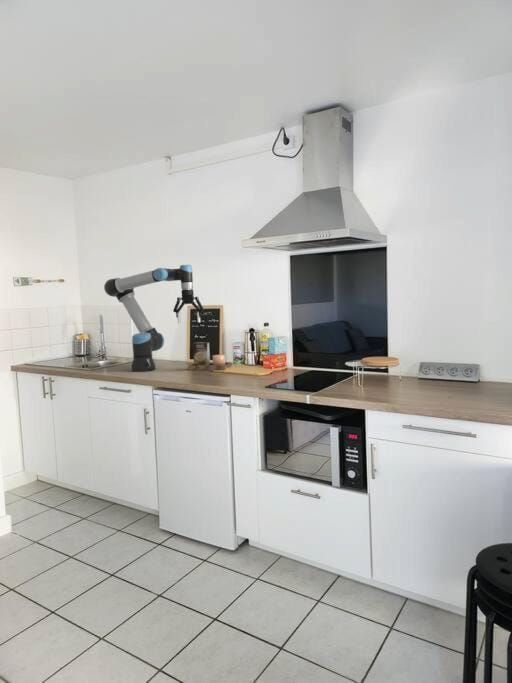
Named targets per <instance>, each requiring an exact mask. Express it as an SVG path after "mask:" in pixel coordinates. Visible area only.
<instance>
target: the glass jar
mask: <svg viewBox="0 0 512 683" xmlns="http://www.w3.org/2000/svg"><path fill="white" fill-rule="evenodd" d="M192 346H193V348H192V349H193V351H192V352H193V364H194V366H207V365H209V364H210V362H211V354H210V353H211V352H210V351H211V350H210V342H209V341H207V342H206V341H205V342H204V341H203V342H202V341H200V342H199V341H198V342H193V345H192Z"/></svg>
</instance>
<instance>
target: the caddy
mask: <svg viewBox="0 0 512 683" xmlns="http://www.w3.org/2000/svg"><path fill="white" fill-rule="evenodd" d="M231 366H232V367H233V362H232V361H231V362H230V361H229V362H227V361H225V365H223V366H213V361H212V362H211V361H210V364H209V365H207V366H194V363H192V364H190V365H188V368H187V369H188V371H226V369H227V368H229V367H231ZM232 367H231V368H232ZM229 369H230V368H229ZM227 370H228V369H227Z"/></svg>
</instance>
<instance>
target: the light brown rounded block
mask: <svg viewBox="0 0 512 683" xmlns="http://www.w3.org/2000/svg"><path fill="white" fill-rule="evenodd" d="M212 362H213V366H223V365H225V362H226V354H212Z"/></svg>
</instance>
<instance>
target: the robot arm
mask: <svg viewBox="0 0 512 683" xmlns="http://www.w3.org/2000/svg"><path fill="white" fill-rule="evenodd" d="M193 280H194V279H193V267H192V265H191V264H181V265H180V266H179V268H165V267H158V268H155V269H154V270H150V271H146V272H143V273H138V274H134V275H130V276H127V277H122V278H120V277H116V278H110V279H108V280H106V282H105V283H104V287H103V288H104V293H106V294H107V295H108V296H109V297H115V298H116V299H117V300H118V302H119V303H121V304H123V306H124V308H125V309H126V311H127V313H128V315H129V317H130V318H131V320H132V322H133V324H134V326H135V327H136V328H137V330H138V332H139V333H138V332H137V333H135V334H133V335H132V337H131V342H132V344H131V345H132V355H133V356H132V357H133V360H132V364H131V368H130V369H131V372H135V371H141V372H149V370H151V371H154V370H156V369H157V368H156V363H155V361H154V358H153V352H156V351H159V350H161V349H163V347H164V344H165V337H164V335H163V334H162V333H160V332H159V331H157V329H156V328H155V327H152V325H151V324H150V321H149V320H148V318H147V316H146V315H145V313H144V311H143V310H142V308H141V306H140V305H139V302H138V301H137V300H136V298H135V291H134V289H136V288H139V287H142V286H147V285H151V284H154V283H159V282H163V281H165V282H176V281H180V286H181V287H180V288H181V291H180V292H181V297H180V296H179V297H178V296H177V298H176V302H175V305H174V308H173V310H172V311H173V312H174V313H175V314H176V315H175V316H176V318H177V323H178V324H180V323H181V322H182V321H181V319H182V318H181V310H182V309H183V307H184V305H192V307H194V308H195V310H196V311H197V313H196V316H197V323H201V318H202V312H203V311H205V309H204V307H203V305H202V303H201V301H200V298H199V296H194V295H195V294H194V283H193V282H194V281H193ZM181 301H182V302H181Z"/></svg>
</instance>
